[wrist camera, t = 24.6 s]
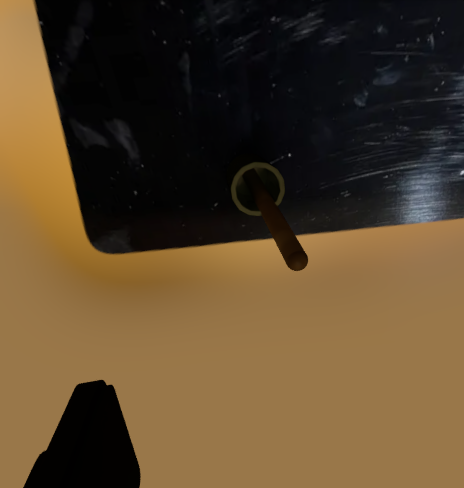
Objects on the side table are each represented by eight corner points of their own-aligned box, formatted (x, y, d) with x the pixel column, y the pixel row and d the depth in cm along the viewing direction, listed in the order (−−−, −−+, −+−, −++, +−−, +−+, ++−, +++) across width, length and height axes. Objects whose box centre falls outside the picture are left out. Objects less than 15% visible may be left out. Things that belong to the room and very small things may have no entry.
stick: (245, 180, 38) (296, 279, 24) (237, 169, 37) (285, 265, 24) (257, 171, 37) (315, 266, 24) (249, 161, 37) (304, 253, 23)
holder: (229, 201, 38) (235, 220, 32) (222, 156, 37) (227, 166, 30) (272, 194, 39) (287, 211, 32) (267, 149, 37) (281, 157, 30)
